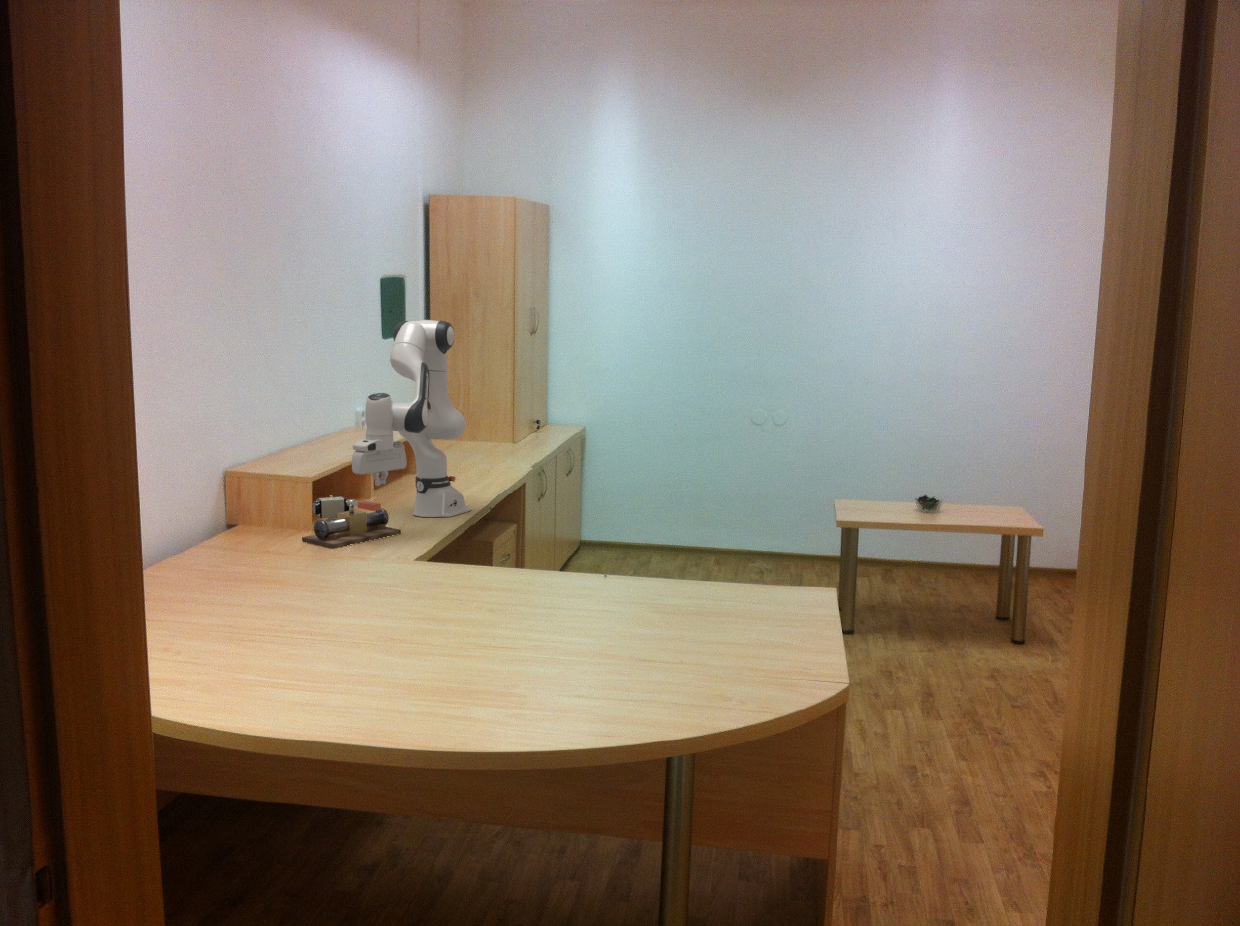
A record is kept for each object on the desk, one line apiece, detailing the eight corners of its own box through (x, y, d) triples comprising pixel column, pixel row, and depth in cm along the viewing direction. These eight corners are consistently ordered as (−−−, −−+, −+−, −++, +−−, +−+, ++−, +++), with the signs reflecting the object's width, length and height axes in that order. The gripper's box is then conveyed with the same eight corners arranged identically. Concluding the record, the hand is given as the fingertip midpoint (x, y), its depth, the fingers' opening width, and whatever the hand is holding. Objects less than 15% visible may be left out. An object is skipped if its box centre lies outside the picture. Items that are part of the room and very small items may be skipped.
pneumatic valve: (350, 529, 356) (349, 495, 355) (316, 532, 351) (315, 497, 349) (347, 526, 361) (346, 492, 360) (313, 529, 356) (311, 494, 354)
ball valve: (376, 525, 356) (376, 499, 354) (389, 528, 352) (388, 501, 350) (313, 538, 335) (312, 510, 334) (326, 541, 331) (325, 513, 330)
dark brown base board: (370, 527, 359) (369, 518, 359) (401, 534, 350) (400, 525, 349) (302, 541, 337) (301, 532, 337) (333, 548, 328) (332, 539, 327)
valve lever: (344, 505, 342) (344, 499, 341) (352, 504, 344) (352, 498, 344) (373, 511, 333) (373, 504, 333) (380, 509, 335) (380, 503, 335)
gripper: (397, 439, 347) (398, 480, 349) (348, 445, 331) (349, 487, 333) (410, 441, 344) (411, 482, 346) (361, 446, 327) (362, 489, 329)
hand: (380, 485), depth 339 cm, fingers closed
